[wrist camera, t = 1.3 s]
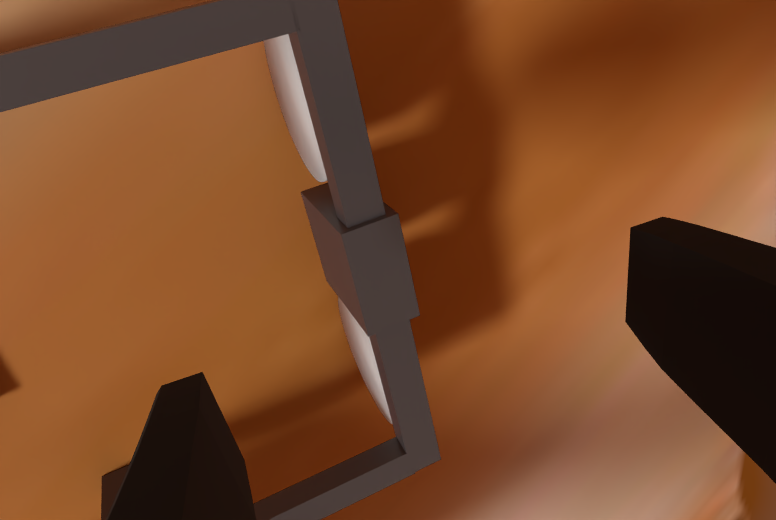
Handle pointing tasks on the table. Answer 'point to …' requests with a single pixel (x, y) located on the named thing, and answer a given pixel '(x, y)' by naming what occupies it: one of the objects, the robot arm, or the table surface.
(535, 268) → the table surface
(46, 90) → the glasses
